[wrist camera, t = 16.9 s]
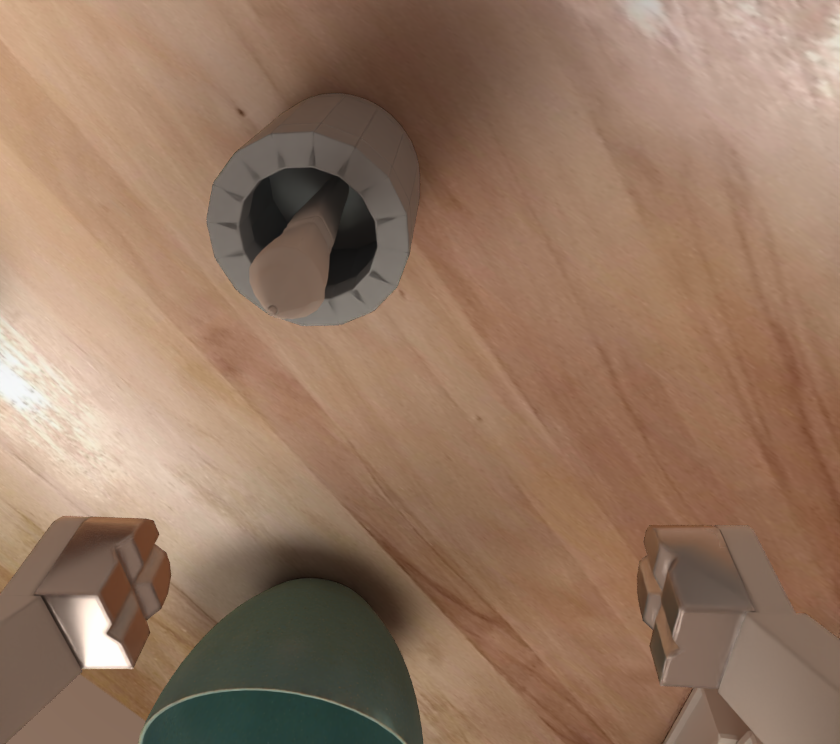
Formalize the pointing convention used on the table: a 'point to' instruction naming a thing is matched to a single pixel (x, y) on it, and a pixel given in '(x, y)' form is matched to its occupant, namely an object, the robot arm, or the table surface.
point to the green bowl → (291, 676)
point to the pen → (300, 256)
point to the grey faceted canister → (302, 178)
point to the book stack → (709, 722)
